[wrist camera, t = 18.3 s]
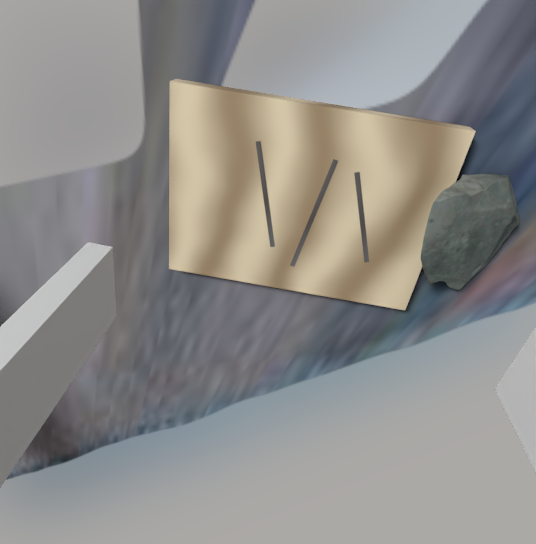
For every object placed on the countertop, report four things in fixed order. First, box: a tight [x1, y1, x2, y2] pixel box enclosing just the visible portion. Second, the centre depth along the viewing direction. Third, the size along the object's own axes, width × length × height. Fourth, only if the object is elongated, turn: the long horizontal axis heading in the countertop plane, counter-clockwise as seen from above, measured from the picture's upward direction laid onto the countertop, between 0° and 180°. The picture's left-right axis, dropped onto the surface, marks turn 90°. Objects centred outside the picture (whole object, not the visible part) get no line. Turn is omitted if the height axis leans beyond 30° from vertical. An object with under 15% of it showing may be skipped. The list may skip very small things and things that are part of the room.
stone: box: [421, 174, 520, 290], centre depth 32 cm, size 11×4×10 cm
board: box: [169, 79, 476, 310], centre depth 34 cm, size 22×16×2 cm
